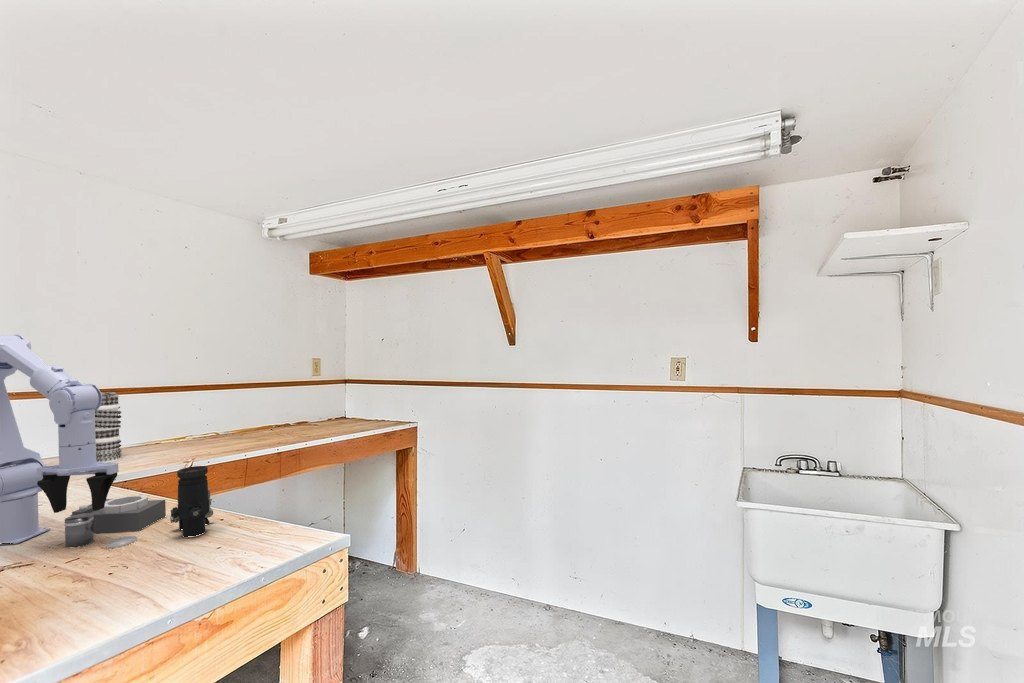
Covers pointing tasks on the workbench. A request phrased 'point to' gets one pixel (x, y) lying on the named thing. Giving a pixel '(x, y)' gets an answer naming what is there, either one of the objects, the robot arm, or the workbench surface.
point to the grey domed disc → (121, 541)
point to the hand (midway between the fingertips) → (79, 510)
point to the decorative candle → (108, 429)
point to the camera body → (125, 513)
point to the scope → (192, 501)
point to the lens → (79, 530)
